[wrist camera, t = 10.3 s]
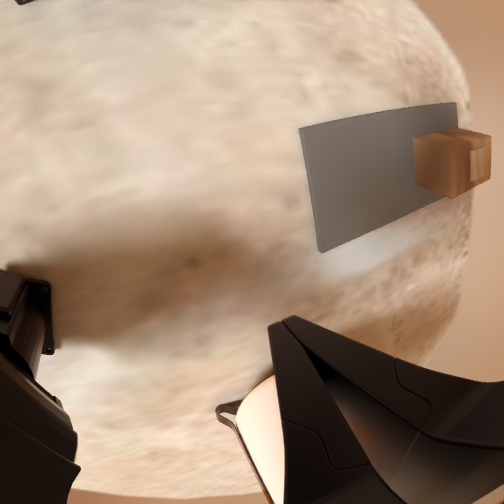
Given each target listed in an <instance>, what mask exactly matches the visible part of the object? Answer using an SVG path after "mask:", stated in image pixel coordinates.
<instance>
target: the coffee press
mask: <svg viewBox="0 0 504 504" xmlns="http://www.w3.org/2000/svg"><path fill="white" fill-rule="evenodd" d="M215 411H216V416H217V420H218V421H219V422H221V423H223V424H225V425H227V426H228V427H230V428H231V429H232V430H233V431H234V432H235V434H236V436H237V438H238V440H239V442H240V444H241V446H242V449H243V451H244V453H245V455H246V457H247V459H248V461H249V464H250V466H251V468H252V470H253V472H254V474H255V476H256V478H257V480H258V482H259V484H260V486H261V488H262V490H263V492H264V494H265V496H266V498H267V500H268V502H269V504H283V494H284V443H283V433H282V426H281V418H280V411H279V404H278V397H277V390H276V383H275V376H274V375H273V376H271V377H270V378H268V379H266V380H265V381H263V382H262V383H261V384H259V385H258V386H257V387H256V388H254V389H253V390H252V391H251V392H250V393H249V394H248V395H247V396H246V398H245V399H244V400H243V402H242V403H241V405H240V407H239V408H235V407H231V406H228V405H219V406H218V407H217V408H216V410H215ZM222 412H227V413H230V414H233V415H236V427H237V429H236V427H235V425H234V424H233V422H231V421H230V420H229V419H227V418H225V417H223V416H221V415H219V414H220V413H222ZM237 430H238V431H237ZM238 432H239V433H238ZM371 465H372V464H371ZM375 470H376V469H375ZM376 471H377V470H376ZM377 473H378V471H377ZM378 474H379V473H378ZM379 476H380V477H381V478H382V480H383V481H384V482H385V483H386V484H387V485H388V483H387V482H386V481H385V480H384V479H383V477H382V476H381V475H380V474H379ZM388 486H389V485H388ZM389 487H390V486H389ZM390 488H391V487H390ZM391 489H392V488H391Z"/></svg>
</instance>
